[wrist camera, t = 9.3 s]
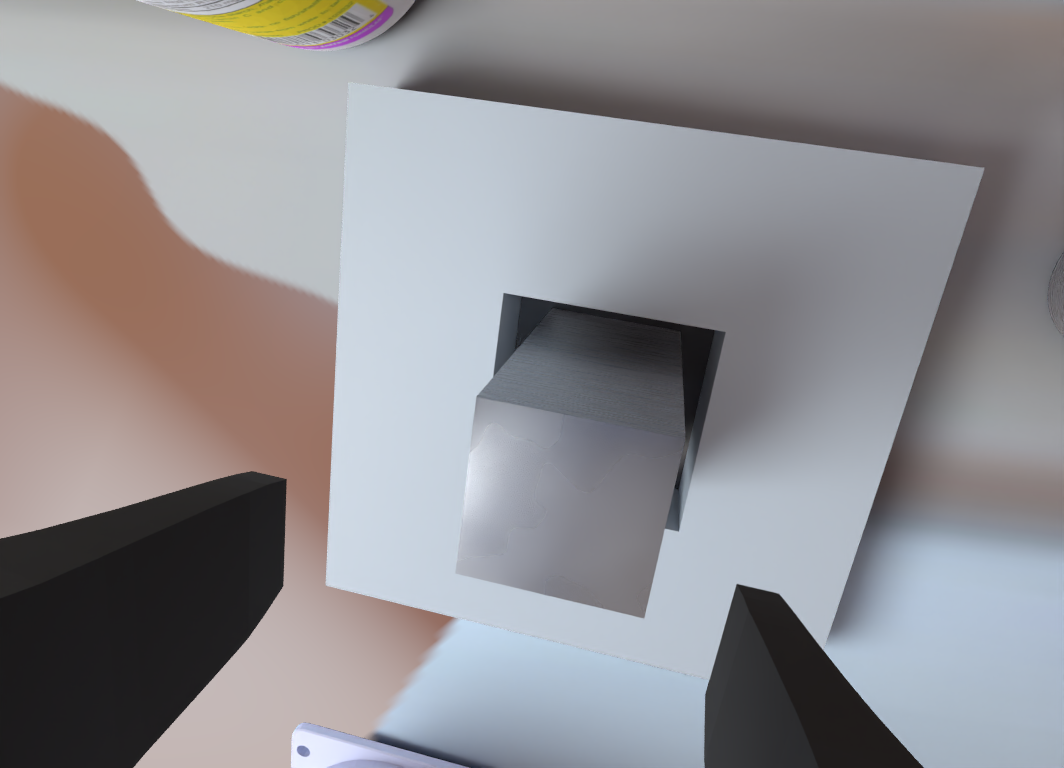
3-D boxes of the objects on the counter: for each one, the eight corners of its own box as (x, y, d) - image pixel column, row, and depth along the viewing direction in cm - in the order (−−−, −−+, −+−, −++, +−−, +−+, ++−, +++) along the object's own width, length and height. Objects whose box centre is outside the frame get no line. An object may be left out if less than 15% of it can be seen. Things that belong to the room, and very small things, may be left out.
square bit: (654, 449, 20) (643, 618, 12) (534, 425, 20) (455, 573, 13) (680, 330, 19) (685, 439, 11) (552, 308, 19) (476, 396, 12)
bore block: (790, 644, 21) (805, 704, 19) (361, 542, 23) (325, 585, 21) (940, 168, 16) (984, 167, 14) (389, 92, 18) (348, 82, 16)
